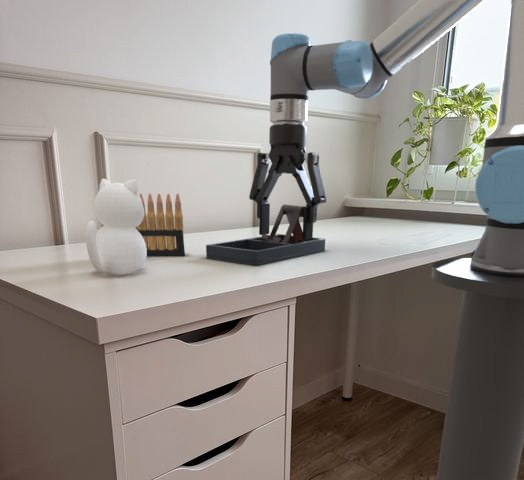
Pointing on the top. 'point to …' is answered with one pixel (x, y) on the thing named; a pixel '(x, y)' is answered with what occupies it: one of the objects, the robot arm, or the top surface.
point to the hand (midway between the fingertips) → (285, 236)
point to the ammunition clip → (163, 228)
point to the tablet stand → (294, 225)
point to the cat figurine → (117, 229)
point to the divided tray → (262, 250)
